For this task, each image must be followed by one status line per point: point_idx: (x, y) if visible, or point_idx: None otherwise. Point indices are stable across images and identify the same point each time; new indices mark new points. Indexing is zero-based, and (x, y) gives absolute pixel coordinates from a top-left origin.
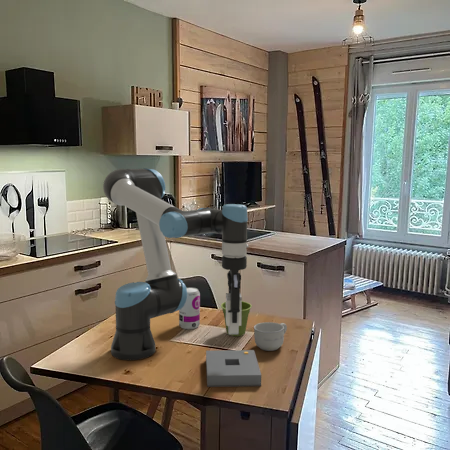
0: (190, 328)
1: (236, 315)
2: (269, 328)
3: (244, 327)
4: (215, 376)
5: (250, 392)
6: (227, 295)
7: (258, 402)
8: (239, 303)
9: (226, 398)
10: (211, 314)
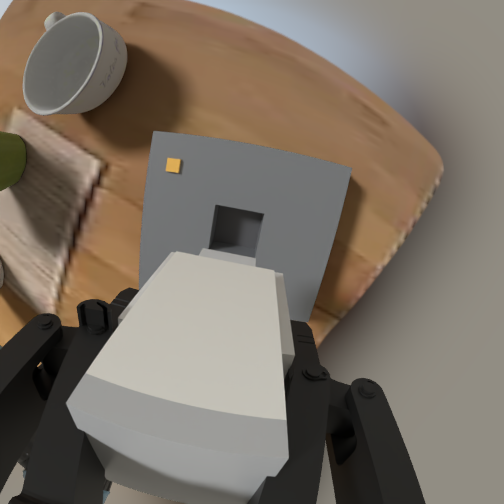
0: (2, 268)
1: (318, 363)
2: (42, 63)
3: (9, 138)
4: (313, 301)
5: (364, 207)
6: (183, 500)
7: (409, 206)
8: (404, 444)
9: (369, 274)
10: None
